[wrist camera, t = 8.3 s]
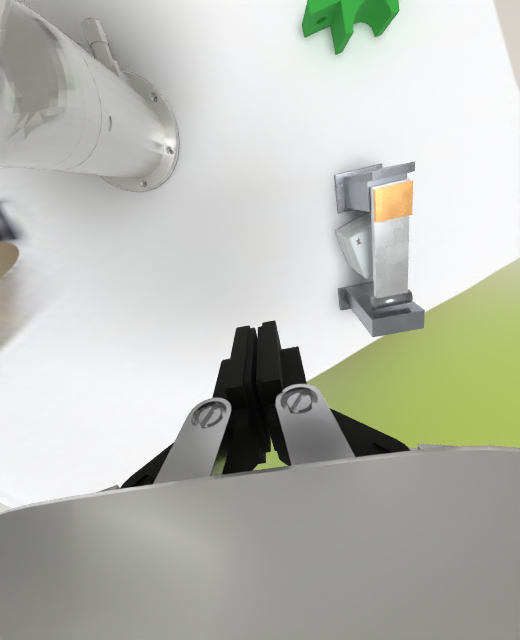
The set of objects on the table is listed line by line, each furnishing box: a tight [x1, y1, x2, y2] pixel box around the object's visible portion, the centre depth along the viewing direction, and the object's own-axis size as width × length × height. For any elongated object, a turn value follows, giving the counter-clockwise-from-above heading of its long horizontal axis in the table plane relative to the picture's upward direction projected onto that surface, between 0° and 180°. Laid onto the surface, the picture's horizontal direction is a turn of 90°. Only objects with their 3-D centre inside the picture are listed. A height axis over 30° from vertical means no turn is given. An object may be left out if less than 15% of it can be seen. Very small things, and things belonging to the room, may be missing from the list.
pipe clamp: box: [302, 0, 399, 55], centre depth 28 cm, size 11×4×5 cm, turn 109°
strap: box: [370, 179, 413, 309], centre depth 30 cm, size 14×4×2 cm, turn 12°
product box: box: [335, 212, 410, 279], centre depth 36 cm, size 6×6×7 cm
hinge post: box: [338, 282, 425, 337], centre depth 38 cm, size 4×8×12 cm, turn 102°
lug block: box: [334, 162, 415, 213], centre depth 32 cm, size 5×6×11 cm
